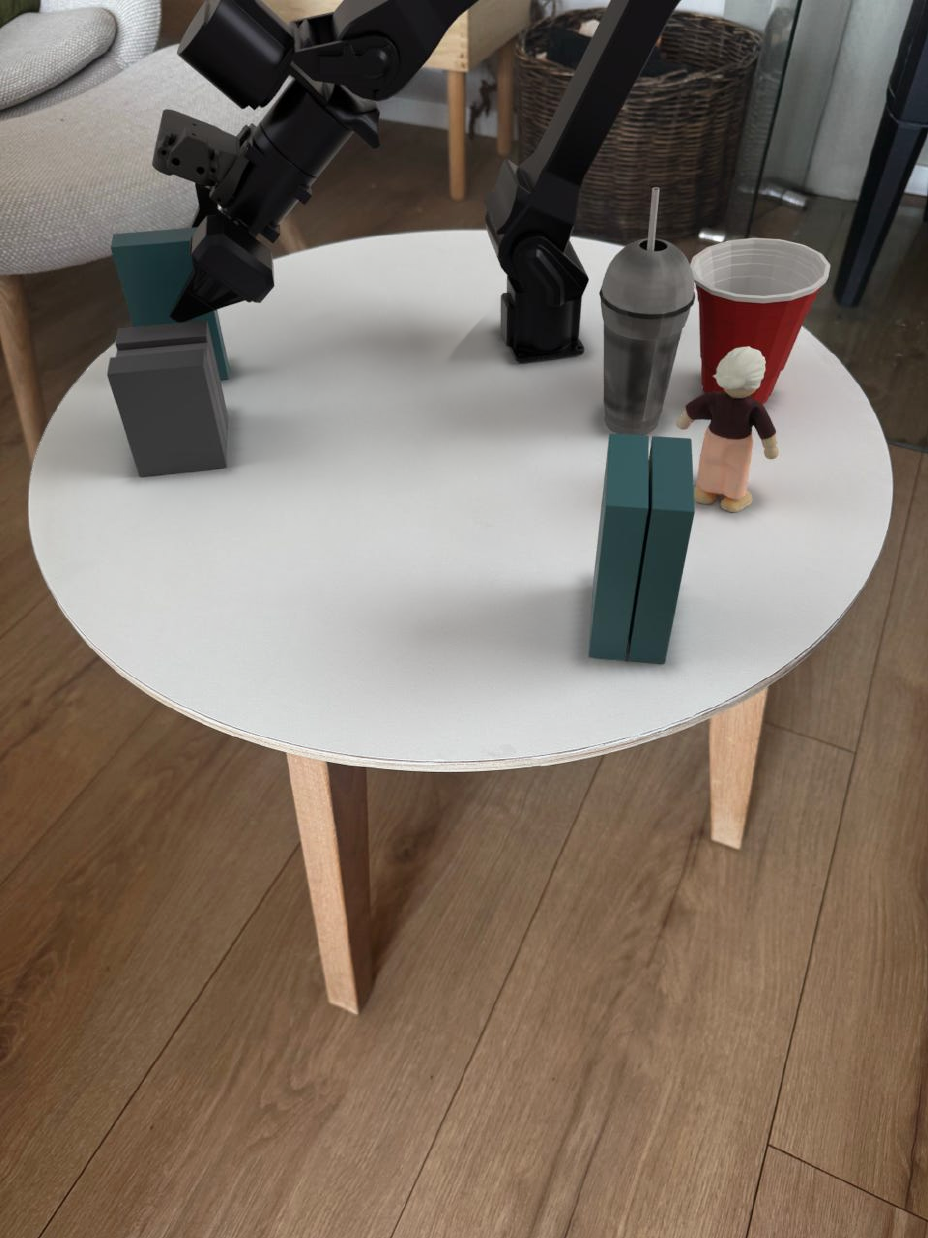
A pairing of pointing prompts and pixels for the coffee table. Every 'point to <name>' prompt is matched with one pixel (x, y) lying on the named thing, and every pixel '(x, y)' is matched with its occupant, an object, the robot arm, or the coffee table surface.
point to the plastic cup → (754, 302)
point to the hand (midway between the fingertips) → (177, 292)
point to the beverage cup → (642, 327)
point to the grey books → (170, 397)
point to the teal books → (641, 546)
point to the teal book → (160, 280)
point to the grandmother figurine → (731, 430)
